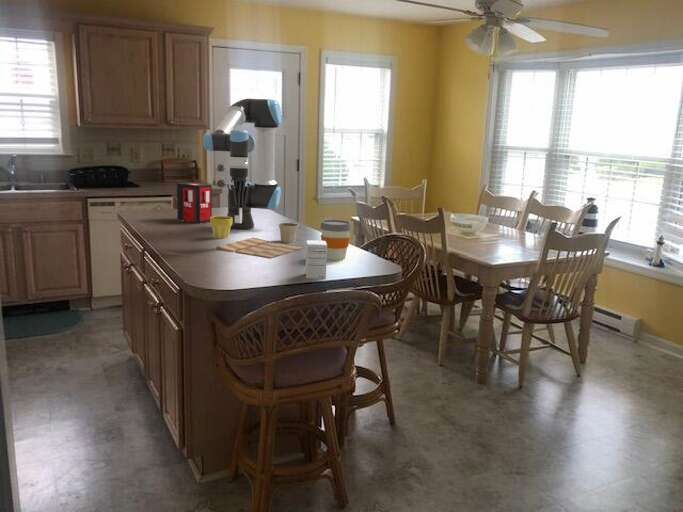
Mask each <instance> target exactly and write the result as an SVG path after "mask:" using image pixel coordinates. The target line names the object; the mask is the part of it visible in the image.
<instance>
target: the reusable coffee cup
mask: <svg viewBox="0 0 683 512" xmlns="http://www.w3.org/2000/svg"><path fill="white" fill-rule="evenodd" d="M320 230H321V234H320V241H326V243H327V260H328V259H329V260H328V261H343V259H344V260H345V259H346V256H347V255H346V254H347V250H348V248H349V245H350V244H349V243H350V239H351V235H350V233H351V231H352V223H351V221H348V220H347V221H346V220H343V219H342V220H340V219H326V220H322V221H321V223H320Z"/></svg>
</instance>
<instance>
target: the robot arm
mask: <svg viewBox="0 0 683 512" xmlns="http://www.w3.org/2000/svg"><path fill="white" fill-rule="evenodd" d="M282 117H283V116H282V109H281V105H280V103H279V101H278V100H276V99H271V98H270V99H269V98H267V99H265V98H264V99H263V98H244V99H240V100H237V101H236V102H235V103H232V105H230V106H229V107H228V109H227V110H226V112H225V116H224V118H223V119H222V120H221V121H220V123H219V124H218V126H217V127H216V128H215V129H214V131H213V132H209V133H208V132H206V133H204V135H203V137H202V145H203V148H204V150H206V151H209V152H227V153H228V152H229V166H230V167H229V176H230V177H231V180H230V183H229V184H227V185H226V186H227V214H226V216H228V217H232V218H233V222H232V225H231V228H230V230H234V231H235V230H236V231H247V230H253V229H254V228H255V222H254V220H253V215H252V209H261V210H276V209H277V208H278V206H279V203H280V202H281V201H280V200H281V196H282V188H281V187H280V186H279V184H278V182H277V180H275V175H276V173H275V171H276V170H275V169H276V168H275V164H276V162H275V161H276V160H275V159H276V158H275V157H276V156H275V155H276V154H275V153H276V152H275V151H276V149H275V148H276V146H275V145H276V141H275V140H276V139H275V138H276V130H278V128H279V125H282V120H283V119H282ZM243 124H253V125H254V126H253V128H254V129H255V130H256V132H257V137H256V138H257V140H256V139H255V138H254V136H252V135H250V134H249V131H248V130H246V129H245V130H244V129H242V130H241V129H238V128H239V127H240V126H241V125H243ZM256 141H257V142H256ZM256 145H257V149H256V151H257V152H256V153H257V157H256V158H257V164H256V166H257V167H256V168H257V169H256V170H257V171H256V172H257V174H256V175H257V179H256V180H255V181H254V184H253V185H252V182H250V181H247V178H248V176H249V169H248V168H247V167H248V166H249V153H251V152H253V151H254V150H255V148H256Z"/></svg>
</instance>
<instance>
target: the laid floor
mask: <svg viewBox="0 0 683 512" xmlns="http://www.w3.org/2000/svg"><path fill="white" fill-rule="evenodd" d="M304 249H306V246H301V245H295V244H290V243H283V242H275V241H270V242H269V243H265V244H261V245H257V246H253V247H250V248H246V249H242V250H238V251H235V252H234V253H235V254H242V255H248V256H255V257H258V258H259V257H260V258H265V259H274V258H277V257H281V256H285V255H287V254H290V253H293V252H297V251H301V250H304Z"/></svg>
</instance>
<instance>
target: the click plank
mask: <svg viewBox="0 0 683 512" xmlns="http://www.w3.org/2000/svg"><path fill="white" fill-rule="evenodd" d="M269 242H271V241H270V240H266V239H260V238H257V237H251V238H247V239H242V240H238V241H233V242H229V243H225V244H221V245H217V246H216V247H215V249H216V250H218V251H224V252H230V253H235V251H238V250H242V249H246V248H250V247H253V246H257V245H261V244H265V243H269Z"/></svg>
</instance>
